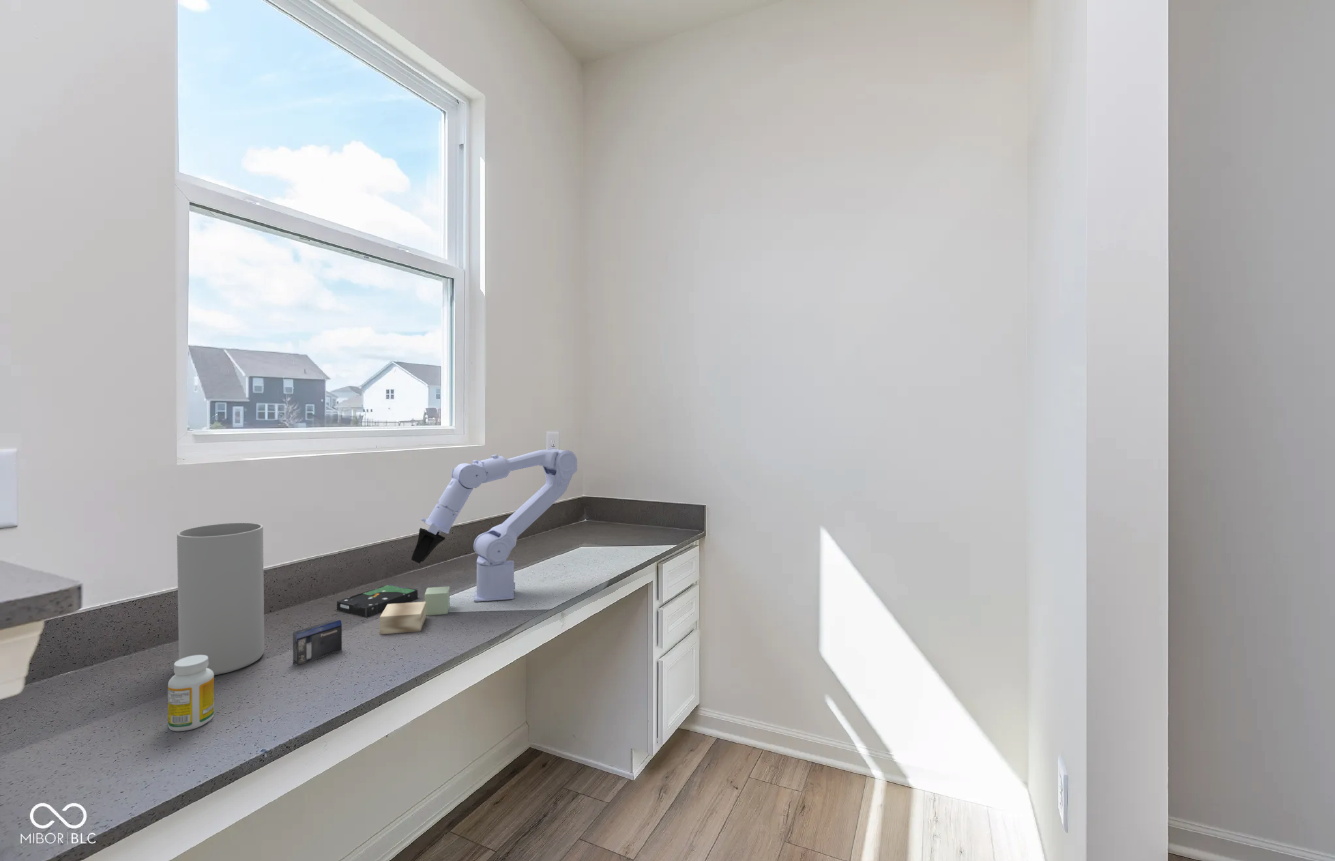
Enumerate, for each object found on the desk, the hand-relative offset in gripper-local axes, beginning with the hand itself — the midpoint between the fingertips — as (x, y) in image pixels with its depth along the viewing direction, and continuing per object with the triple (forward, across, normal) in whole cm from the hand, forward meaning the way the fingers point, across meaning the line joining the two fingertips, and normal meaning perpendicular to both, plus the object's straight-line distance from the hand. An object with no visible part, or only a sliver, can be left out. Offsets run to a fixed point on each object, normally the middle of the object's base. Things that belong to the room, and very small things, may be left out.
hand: (417, 560), depth 134 cm
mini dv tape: (+22, +18, -6) cm, 29 cm away
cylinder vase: (+29, +17, -20) cm, 39 cm away
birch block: (+13, +6, +5) cm, 15 cm away
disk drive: (+14, -10, -3) cm, 17 cm away
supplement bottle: (+31, +38, -14) cm, 51 cm away
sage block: (+8, -1, +10) cm, 13 cm away
